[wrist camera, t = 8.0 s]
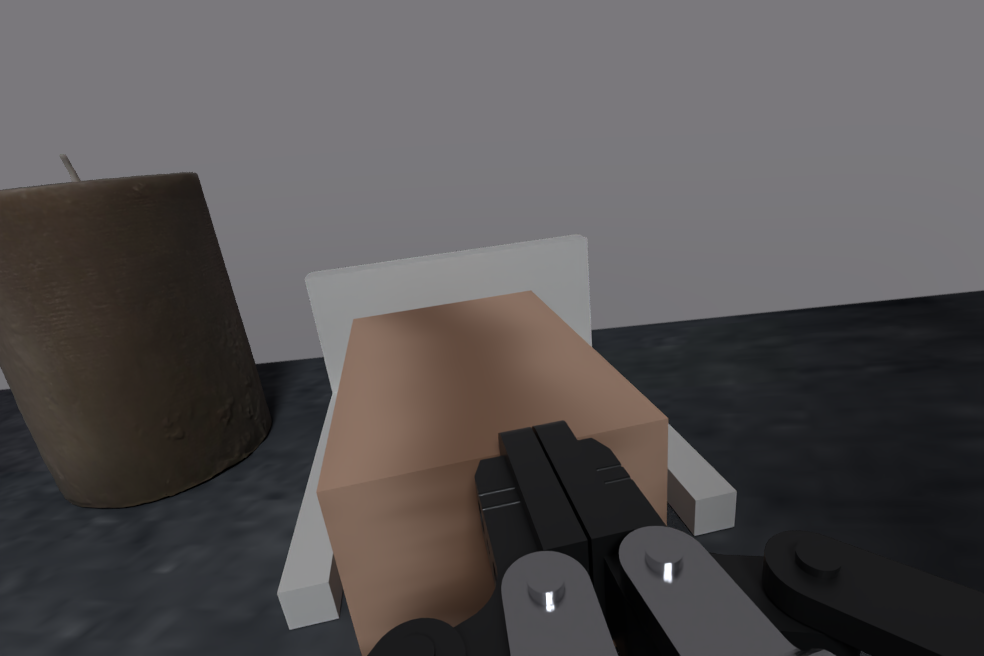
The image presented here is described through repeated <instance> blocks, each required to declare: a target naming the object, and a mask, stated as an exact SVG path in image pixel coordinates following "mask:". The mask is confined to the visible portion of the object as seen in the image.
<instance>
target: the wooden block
mask: <svg viewBox="0 0 984 656" xmlns="http://www.w3.org/2000/svg"><path fill="white" fill-rule="evenodd" d="M561 420H564V421H565V422H566V423H567V424H568V426H569V428H570V429H571V431H572V432H573V434H574V435H575V437H576V439H577V440H582V439H587V438H593V439H595V440H597V441H598V442H600V443H602V444H603V445H605V446H607V447H608V448H610V449H611V451H612V452H613V453H614V455H615V456H616V457H617V459H618V460H619V461H620V463H621V466H622V467H624V468H625V470H626V471H627V472H628V474H629V475H630V478H631V479H633V481H634V482H635V483H636V485H637V486H638V487H639V489H640V490H641V492H642V493H643V494H644V496H645V497H646V498H647V500H648V501H649V503H650V504H651V505H652V507H653V508H654V509H655V511H656V512H657V513H658V515H659V516H660V518H661V519H662V520H663V522H664V523H665V524H666V526H667V470H668V418H667V417H666V416H665V415H664V414H663V413H662V412H661V411H660V410H659V409H658V408H657V407H656V406H654V405H653V404H652V403H651V402H650V401H649V400H648V399H647V398H646V397H645V396H644V395H643V394H642V393H641V392H639V391H638V390H637V389H636V388H635V387H634V386H633V385H632V384H631V383H630V382H629V381H628V380H627V379H626V378H624V377H623V376H622V375H621V374H620V373H619V372H618V371H617V370H616V369H615V368H614V367H613V366H612V365H611V364H609V363H608V362H607V361H606V360H605V359H604V358H603V357H602V356H601V355H600V354H599V353H598V352H597V351H596V350H594V349H593V348H592V347H591V346H590V345H589V344H588V343H587V342H586V341H585V340H584V339H583V338H582V337H581V336H579V335H578V334H577V333H576V332H575V331H574V330H573V329H572V328H571V327H570V326H569V325H568V324H567V323H566V322H564V321H563V320H562V319H561V318H560V317H559V316H558V315H557V314H556V313H555V312H554V311H553V310H552V309H550V308H549V307H548V306H547V305H546V304H545V303H544V302H543V301H542V300H541V299H540V298H539V297H538V296H537V295H535V294H534V293H533V292H532V291H531V290H530V291H524V292H517V293H511V294H505V295H499V296H493V297H487V298H481V299H474V300H468V301H462V302H456V303H450V304H444V305H437V306H431V307H425V308H419V309H413V310H407V311H400V312H394V313H388V314H382V315H376V316H370V317H364V318H357V319H353V322H352V327H351V332H350V336H349V341H348V346H347V350H346V355H345V360H344V365H343V369H342V374H341V379H340V383H339V388H338V393H337V397H336V402H335V407H334V411H333V416H332V421H331V425H330V430H329V435H328V439H327V444H326V449H325V454H324V458H323V463H322V468H321V472H320V477H319V482H318V486H317V491H316V493H317V497H318V501H319V504H320V508H321V511H322V515H323V518H324V522H325V526H326V529H327V533H328V536H329V540H330V543H331V547H332V550H333V554H334V558H335V561H336V565H337V568H338V572H339V575H340V579H341V582H342V586H343V590H344V593H345V597H346V600H347V604H348V607H349V611H350V614H351V618H352V622H353V625H354V629H355V632H356V636H357V639H358V643H359V647H360V650H361V654H362V656H367V655H368V654H369V653H370V651H371V650H372V649H373V647H374V646H375V645H376V643H377V642H378V641H379V640H380V639H381V638H382V637H383V636H384V635H385V634H386V633H387V632H388V631H390V630H391V629H393V628H394V627H396V626H398V625H400V624H402V623H403V622H406V621H409V620H412V619H417V618H434V619H438V620H442V621H444V622H446V623H448V624H450V625H451V626H452V627H455V626H457V625H458V624H460V623H462V622H463V621H465V620H467V619H468V618H470V617H471V616H473V615H474V614H476V613H477V612H478V611H479V610H481V609H482V608H483V607H484V606H485V604H486V603H487V602H488V601H489V599H490V598H491V596H492V594H493V592H494V590H495V585H494V581H493V576H492V572H491V568H490V563H489V559H488V554H487V550H486V546H485V542H484V537H483V533H482V526H481V519H480V512H479V505H478V498H477V492H476V485H475V478H474V476H475V473H476V470H477V468H478V465H479V462H480V460H483V459H488V458H493V457H498V456H500V450H499V441H498V433H501V432H506V431H511V430H516V429H521V428H526V427H531V428H532V426H536V425H541V424H546V423H551V422H556V421H561ZM613 643H614V646H615V647H617V646H616V644H615V642H614V640H613Z"/></svg>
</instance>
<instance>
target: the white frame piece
mask: <svg viewBox="0 0 984 656" xmlns="http://www.w3.org/2000/svg"><path fill="white" fill-rule="evenodd" d="M305 282H306V287H307V291H308V295H309V299H310V303H311V307H312V311H313V315H314V319H315V323H316V327H317V331H318V335H319V339H320V343H321V347H322V352H323V356H324V360H325V364H326V368H327V372H328V376H329V380H330V384H331V388H332V392H333V393H332V397H331V401H330V404H329V408H328V411H327V415H326V419H325V422H324V426H323V430H322V433H321V437H320V440H319V444H318V448H317V451H316V455H315V458H314V462H313V466H312V469H311V473H310V476H309V480H308V484H307V487H306V491H305V495H304V498H303V502H302V505H301V509H300V513H299V516H298V520H297V523H296V527H295V531H294V534H293V538H292V541H291V545H290V549H289V552H288V556H287V560H286V563H285V567H284V570H283V574H282V578H281V581H280V585H279V588H278V592H277V594H278V597H279V600H280V603H281V606H282V609H283V612H284V615H285V618H286V621H287V624H288V627H289V630H291V629H295V628H299V627H304V626H308V625H312V624H317V623H321V622H325V621H330V620H334V619H338V618H339V614H340V607H341V599H342V591H343V586H342V582H341V579H340V575H339V572H338V568H337V565H336V561H335V558H334V554H333V550H332V547H331V543H330V540H329V536H328V533H327V529H326V526H325V522H324V518H323V515H322V511H321V508H320V504H319V501H318V497H317V493H316V491H317V486H318V482H319V477H320V472H321V468H322V463H323V458H324V454H325V449H326V444H327V439H328V435H329V430H330V425H331V421H332V416H333V411H334V407H335V402H336V397H337V393H338V388H339V383H340V379H341V374H342V369H343V365H344V360H345V355H346V350H347V346H348V341H349V336H350V332H351V327H352V322H353V319H357V318H364V317H370V316H376V315H382V314H388V313H394V312H400V311H407V310H413V309H419V308H425V307H431V306H437V305H444V304H450V303H456V302H462V301H468V300H474V299H481V298H487V297H493V296H499V295H505V294H511V293H517V292H524V291H530V290H531V291H532V292H533V293H534V294H535V295H537V296H538V297H539V298H540V299H541V300H542V301H543V302H544V303H545V304H546V305H547V306H548V307H549V308H550V309H552V310H553V311H554V312H555V313H556V314H557V315H558V316H559V317H560V318H561V319H562V320H563V321H564V322H566V323H567V324H568V325H569V326H570V327H571V328H572V329H573V330H574V331H575V332H576V333H577V334H578V335H579V336H581V337H582V338H583V339H584V340H585V341H586V342H587V343H588V344H589V345H590V346H591V347H592V337H591V314H590V290H589V267H588V244H587V238H586V237H584V236H581V235H579V234H575V235H568V236H561V237H554V238H547V239H540V240H533V241H526V242H519V243H512V244H505V245H498V246H491V247H484V248H477V249H470V250H463V251H456V252H449V253H442V254H435V255H428V256H421V257H414V258H407V259H400V260H393V261H386V262H379V263H372V264H365V265H358V266H351V267H344V268H338V269H330V270H323V271H316V272H310V273H309V274H308V275H307V276H306V278H305ZM736 496H737V491H736V490H735V489H734V488H733V487H732V486H731V485H730V484H729V483H728V482H727V481H726V480H725V479H724V478H723V477H722V476H721V475H720V474H719V473H718V472H717V471H716V470H715V469H714V468H713V467H712V466H711V465H710V464H709V463H708V462H707V461H706V460H705V459H704V458H703V457H702V456H701V455H700V454H699V453H698V452H697V451H696V450H695V449H694V448H693V447H692V446H691V445H690V444H689V443H688V442H687V441H686V440H685V439H684V438H683V437H682V436H681V435H680V434H679V433H677V432H676V431H675V430H674V429H673V428H672V427H671V426H670V425H669V424H668V470H667V502H668V503H669V504H670V505H671V507H672V508H673V509H674V511H675V512H676V513H677V514H678V516H679V517H680V518H681V520H682V521H683V522H684V523H685V525H686V526H687V527H688V529H689V530H690V531H691V532H692V534H693V535H694V536H696V535H701V534H705V533H709V532H714V531H718V530H722V529H726V528H731V527H734V523H735V509H736Z"/></svg>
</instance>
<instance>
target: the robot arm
mask: <svg viewBox="0 0 984 656" xmlns="http://www.w3.org/2000/svg"><path fill="white" fill-rule="evenodd" d="M498 441H499V450H500V456H498V457H493V458H488V459H483V460H480V462H479V465H478V468H477V470H476V473H475V476H474V478H475V485H476V492H477V498H478V505H479V512H480V519H481V526H482V533H483V537H484V542H485V546H486V550H487V554H488V559H489V563H490V568H491V572H492V576H493V581H494V585H495V590H494V592H493V594H492V596H491V598H490V599H489V601H488V602H487V603H486V604H485V606H484V607H483V608H482V609H481V610H479V611H478V612H477V613H476V614H474V615H473V616H471V617H470V618H468V619H467V620H465V621H463V622H462V623H460V624H458V625H457V626H455V627H452V626H451V625H450V624H448V623H446V622H444V621H442V620H438V619H434V618H417V619H412V620H409V621H406V622H403V623H402V624H400V625H398V626H396V627H394V628H393V629H391V630H390V631H388V632H387V633H386V634H385V635H384V636H383V637H382V638H381V639H380V640H379V641H378V642H377V643H376V645H375V646H374V647H373V649H372V650H371V651H370V653H369V654H368V655H367V656H618V654H617V651H616V649H615V646H614V643H613V640H614V642H615V644H616V646H617V648H618V651H619V653H620V655H621V656H860V652H861V651H863V652H865V653H867V654H870V655H872V656H984V593H982V592H980V591H977V590H974V589H971V588H969V587H966V586H963V585H960V584H957V583H955V582H952V581H949V580H946V579H944V578H941V577H938V576H935V575H932V574H930V573H927V572H924V571H921V570H919V569H916V568H913V567H910V566H908V565H905V564H902V563H899V562H896V561H894V560H891V559H888V558H885V557H883V556H880V555H877V554H874V553H872V552H869V551H866V550H863V549H860V548H858V547H855V546H852V545H849V544H847V543H844V542H841V541H838V540H835V539H833V538H830V537H827V536H824V535H821V534H818V533H813V532H808V531H785V532H782V533H778V534H776V535H774V536H773V537H772V538H770V539H769V540H768V542H767V544H766V546H765V551H764V557H763V556H740V555H722V554H715V553H710V552H707V550H706V549H705V548H704V547H703V546H702V545H701V544H700V543H699V542H698V541H697V540H695V539H694V538H693V537H691V536H690V535H688V534H686V533H684V532H682V531H679V530H677V529H674V528H670V527H667V526H666V524H665V523H664V522H663V520H662V519H661V518H660V516H659V515H658V513H657V512H656V511H655V509H654V508H653V507H652V505H651V504H650V503H649V501H648V500H647V498H646V497H645V496H644V494H643V493H642V492H641V490H640V489H639V487H638V486H637V485H636V483H635V482H634V481H633V479H631V478H630V475H629V474H628V472H627V471H626V470H625V468H624V467H622V466H621V463H620V461H619V460H618V459H617V457H616V456H615V455H614V453H613V452H612V451H611V449H610V448H608V447H607V446H605V445H603V444H602V443H600V442H598V441H597V440H595V439H593V438H587V439H582V440H577V439H576V437H575V435H574V434H573V432H572V431H571V429H570V428H569V426H568V424H567V423H566V422H565V421H564V420H561V421H556V422H551V423H546V424H541V425H536V426H532V428H531V427H526V428H521V429H516V430H511V431H506V432H501V433H498Z"/></svg>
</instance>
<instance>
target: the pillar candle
mask: <svg viewBox="0 0 984 656" xmlns="http://www.w3.org/2000/svg"><path fill="white" fill-rule="evenodd" d="M60 157H61V159H62V161H63V163H64V165H65V167H66V168H67V170H68V172H69V174H70V177H71V180H72V182H68V183H58V184H48V185H41V186H32V187H20V188H13V189H5V190H0V367H1V369H2V371H3V373H4V375H5V378H6V380H7V383H8V384H9V387H10V389H11V390H12V392H13V394H14V398H15V400H16V403H17V405H18V408H19V410H20V412H21V413H22V416H23V418H24V420H25V422H26V424H27V426H28V428H29V431H30V432H31V434H32V436H33V439H34V440H35V442H36V444H37V447H38V449H39V452H40V454H41V456H42V458H43V460H44V462H45V464H46V465H47V467H48V469H49V471H50V473H51V474H52V476H53V478H54V479H55V482H56V484H57V486H58V488H59V490H60V491H61V492H62V494H63V495H64V497H65V499H66V500H68V501H69V502H70V503H72V504H73V505H77V506H80V507H91V508H123V507H129V506H135V505H140V504H141V503H148V502H152V501H155V500H159V499H161V498H164V497H167V496H173V495H175V494H177V493H179V492H182V491H184V490H186V489H188V488H191V487H193V486H195V485H197V484H199V483H202V482H204V481H206V480H208V479H210V478H212V477H213V476H214V475H216V474H218V473H220V472H222V471H223V470H224V469H227V468H228V467H230V466H232V465H235V464H236V463H238V462H239V461H241V460H243V459H244V458H246V457H247V456H248V455H249V454H250V453H252V452H254V450H255V449H256V448H257V447H258V446H259V445H260V443H261V442H262V441H263V440H264V438H265V437H266V436H267V434H268V432H269V430H270V427H271V421H272V420H271V416H270V412H269V408H268V406H267V403H266V399H265V395H264V392H263V388H262V385H261V382H260V379H259V375H258V371H257V368H256V365H255V361H254V359H253V355H252V352H251V348H250V345H249V342H248V338H247V335H246V332H245V329H244V325H243V322H242V319H241V316H240V313H239V309H238V306H237V303H236V300H235V296H234V293H233V290H232V286H231V283H230V280H229V276H228V273H227V270H226V267H225V263H224V260H223V257H222V254H221V250H220V247H219V244H218V240H217V237H216V234H215V231H214V227H213V224H212V220H211V217H210V214H209V210H208V207H207V204H206V201H205V198H204V194H203V191H202V187H201V184H200V180H199V178H198V175H197V174H196V173H193V172H189V173H188V172H187V173H186V172H182V173H171V174H157V175H145V176H132V177H121V178H110V179H98V180H88V181H81V180H80V179H79V177H78V175H77V173H76V171H75V170H74V168H73V167H72V165H71V163H70V161H69V160H68V158H67V156H66V155H64V154H60Z"/></svg>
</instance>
